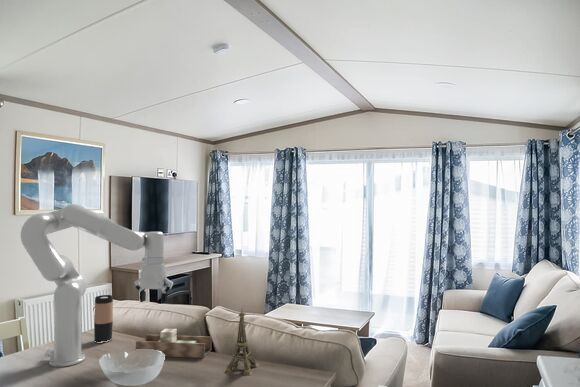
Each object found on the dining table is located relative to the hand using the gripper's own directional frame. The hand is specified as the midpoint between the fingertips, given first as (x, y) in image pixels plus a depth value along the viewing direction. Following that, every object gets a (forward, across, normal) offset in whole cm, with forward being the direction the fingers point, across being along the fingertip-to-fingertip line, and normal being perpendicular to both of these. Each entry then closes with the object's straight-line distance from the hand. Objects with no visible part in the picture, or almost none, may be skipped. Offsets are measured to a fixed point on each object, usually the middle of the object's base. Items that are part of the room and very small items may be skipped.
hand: (153, 301), depth 170 cm
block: (+17, +6, +2) cm, 18 cm away
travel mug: (+21, -30, +10) cm, 38 cm away
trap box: (+21, +9, +2) cm, 23 cm away
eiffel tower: (+21, +42, -9) cm, 48 cm away
